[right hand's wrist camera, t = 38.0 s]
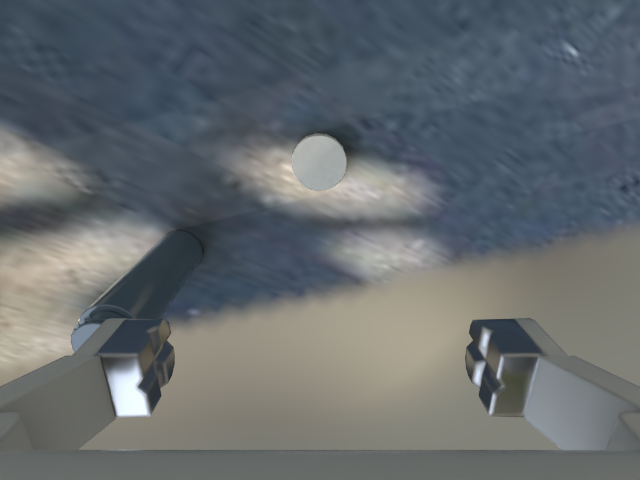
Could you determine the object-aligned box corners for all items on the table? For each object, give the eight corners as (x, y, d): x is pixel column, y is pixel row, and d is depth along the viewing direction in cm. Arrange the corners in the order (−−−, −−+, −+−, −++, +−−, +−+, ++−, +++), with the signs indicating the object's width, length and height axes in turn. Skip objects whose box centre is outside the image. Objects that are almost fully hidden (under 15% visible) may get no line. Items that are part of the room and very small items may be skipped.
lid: (288, 135, 34) (286, 138, 33) (343, 129, 34) (344, 131, 33) (295, 189, 36) (294, 194, 35) (348, 183, 36) (349, 188, 34)
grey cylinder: (185, 222, 37) (101, 306, 23) (211, 257, 39) (147, 356, 24) (151, 243, 38) (49, 336, 24) (177, 276, 40) (96, 383, 25)
